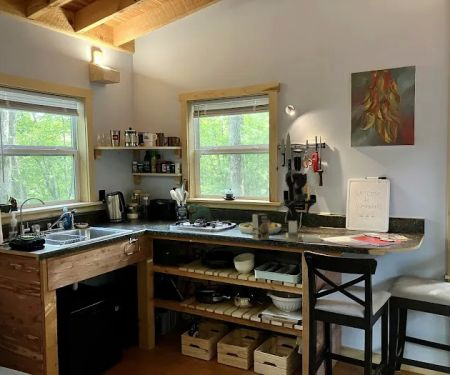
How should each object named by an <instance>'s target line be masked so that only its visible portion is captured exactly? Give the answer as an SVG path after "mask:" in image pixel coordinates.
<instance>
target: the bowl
mask: <svg viewBox="0 0 450 375" xmlns="http://www.w3.org/2000/svg"><path fill="white" fill-rule="evenodd" d="M238 229H239V230H240V232H241V233H243V234H247V235H253V221H251V222H243V223H240V224H239V225H238ZM281 229H282V224H281V223H276V222H272V221H271V220H270V219H269V235H275V234H277V233H279V232H281ZM274 233H275V234H274Z"/></svg>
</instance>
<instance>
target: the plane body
mask: <svg viewBox="0 0 450 375" xmlns="http://www.w3.org/2000/svg"><path fill="white" fill-rule="evenodd" d="M300 241H301V240H300V234H299V232H297V233H289V232H286V233H285V242H286V243H288V242H289V243H300Z"/></svg>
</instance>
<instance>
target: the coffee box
mask: <svg viewBox="0 0 450 375" xmlns="http://www.w3.org/2000/svg"><path fill="white" fill-rule="evenodd" d="M269 220H270V214H269V213H263V212H262V213H254V214H252V222H253V234H252V240H256V241H261V240H268V239H269V240H270V234H269Z"/></svg>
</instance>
